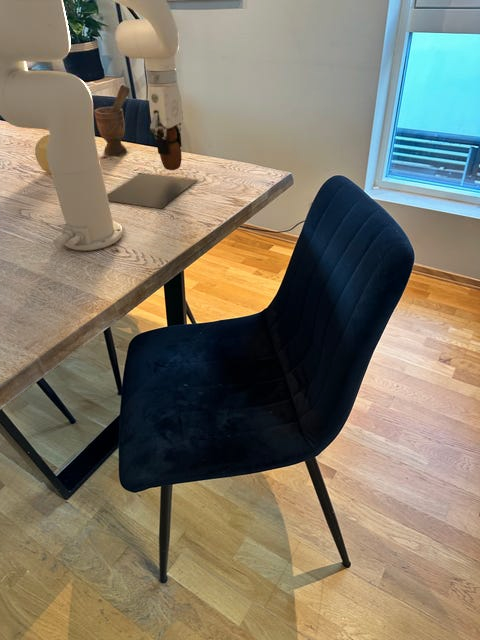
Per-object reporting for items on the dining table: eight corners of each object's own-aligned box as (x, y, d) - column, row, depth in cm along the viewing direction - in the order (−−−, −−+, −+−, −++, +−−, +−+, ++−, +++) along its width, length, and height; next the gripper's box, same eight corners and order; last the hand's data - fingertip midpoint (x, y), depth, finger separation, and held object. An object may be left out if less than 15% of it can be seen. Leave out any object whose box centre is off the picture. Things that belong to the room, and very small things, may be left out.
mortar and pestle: (137, 147, 145) (127, 80, 133) (140, 154, 139) (129, 85, 127) (102, 150, 143) (88, 83, 131) (103, 158, 136) (88, 88, 124)
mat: (161, 209, 104) (161, 208, 104) (99, 200, 110) (99, 199, 110) (196, 181, 119) (196, 180, 119) (140, 174, 124) (140, 173, 124)
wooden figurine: (185, 170, 121) (179, 113, 112) (165, 173, 120) (158, 115, 110) (178, 163, 126) (173, 108, 117) (159, 166, 125) (152, 110, 115)
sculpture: (57, 181, 121) (45, 141, 114) (33, 172, 127) (21, 134, 120) (90, 169, 128) (81, 131, 122) (66, 162, 134) (56, 125, 127)
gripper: (158, 84, 101) (167, 161, 112) (190, 73, 114) (195, 143, 125) (130, 82, 104) (142, 158, 114) (165, 72, 116) (172, 141, 127)
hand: (170, 149), depth 120 cm, fingers closed on wooden figurine, 6 cm apart
